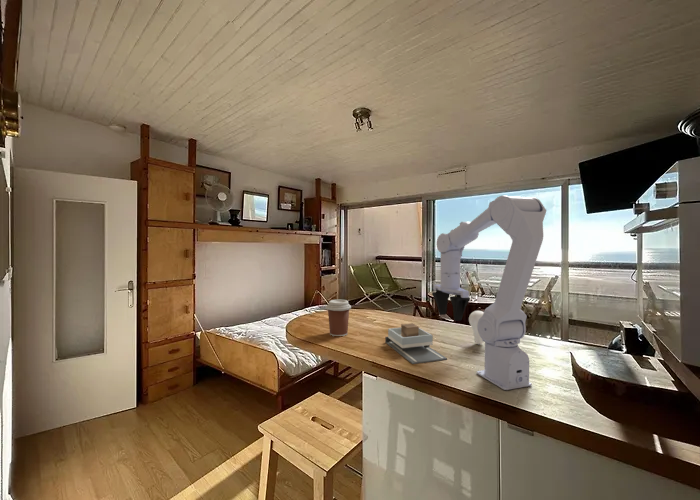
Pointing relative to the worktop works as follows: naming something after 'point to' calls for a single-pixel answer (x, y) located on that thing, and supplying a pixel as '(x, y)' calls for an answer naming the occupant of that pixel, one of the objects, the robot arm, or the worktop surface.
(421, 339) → the white shallow tray
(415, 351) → the track
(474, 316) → the lightbulb
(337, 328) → the coffee cup
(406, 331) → the block
